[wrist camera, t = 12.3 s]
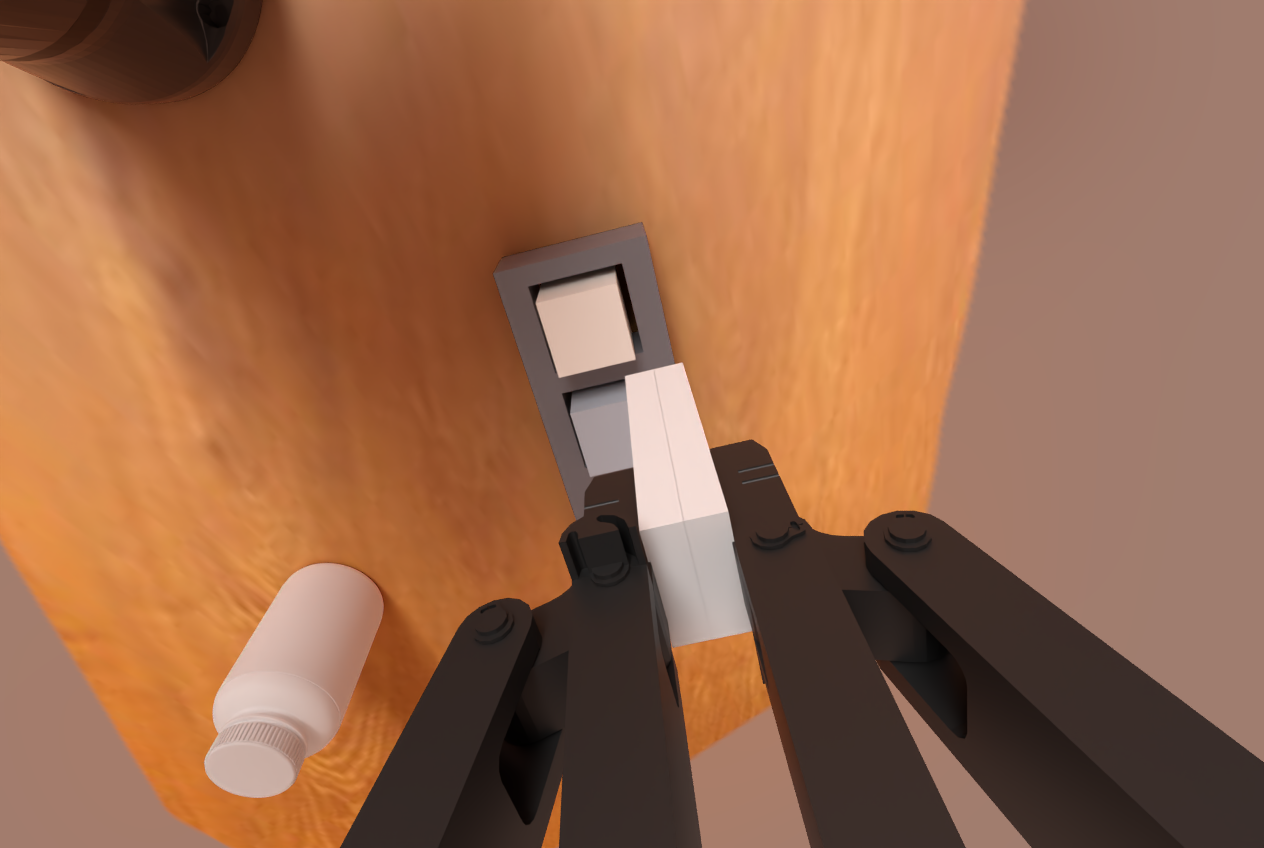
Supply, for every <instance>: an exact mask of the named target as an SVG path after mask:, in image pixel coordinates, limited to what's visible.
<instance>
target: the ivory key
mask: <svg viewBox="0 0 1264 848" xmlns="http://www.w3.org/2000/svg"><path fill="white" fill-rule="evenodd" d="M536 306H537V309H538V313H539V316H540V319H541V322H542V325H543V329H544V332H545V335H546V338H547V341H548V344H549V348H550V351H551V354H552V357H553V360H554V364H555V367H556V370H557V373H558V376H559V378H561V377H565V376H569V375H573V374H578V373H582V372H586V371H590V370H594V369H599V368H603V367H607V366H611V365H615V364H620V363H624V362H628V361H632V360H636V358H635V351H634V344H633V337H632V331H631V327H630V323H629V319H628V315H627V311H626V307H625V303H624V299H623V295H622V291H621V287H620V283H619V279H618V275H617V271H616V267H615V265H613V266H609V267H605V268H601V269H597V270H593V271H589V272H585V273H581V274H577V275H573V276H569V277H565V278H560V279H556V280H552V281H548V282H544V283H541V287H540V290H539V294H538V297H537V300H536Z"/></svg>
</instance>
